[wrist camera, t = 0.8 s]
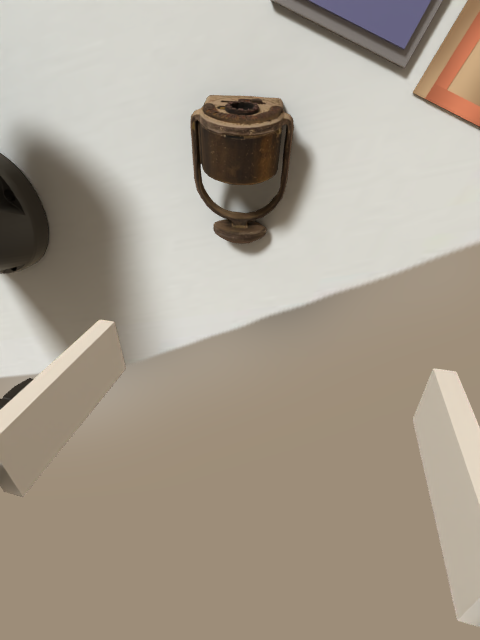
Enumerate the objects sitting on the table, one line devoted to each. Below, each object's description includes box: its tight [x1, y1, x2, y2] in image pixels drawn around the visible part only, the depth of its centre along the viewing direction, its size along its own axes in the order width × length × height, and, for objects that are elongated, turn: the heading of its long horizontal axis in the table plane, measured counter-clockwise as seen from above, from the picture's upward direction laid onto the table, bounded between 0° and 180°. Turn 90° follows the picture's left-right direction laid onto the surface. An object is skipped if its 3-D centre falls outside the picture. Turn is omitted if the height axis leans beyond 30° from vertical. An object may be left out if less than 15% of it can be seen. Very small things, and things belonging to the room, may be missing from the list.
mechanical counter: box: [191, 95, 294, 244], centre depth 29 cm, size 7×13×10 cm
